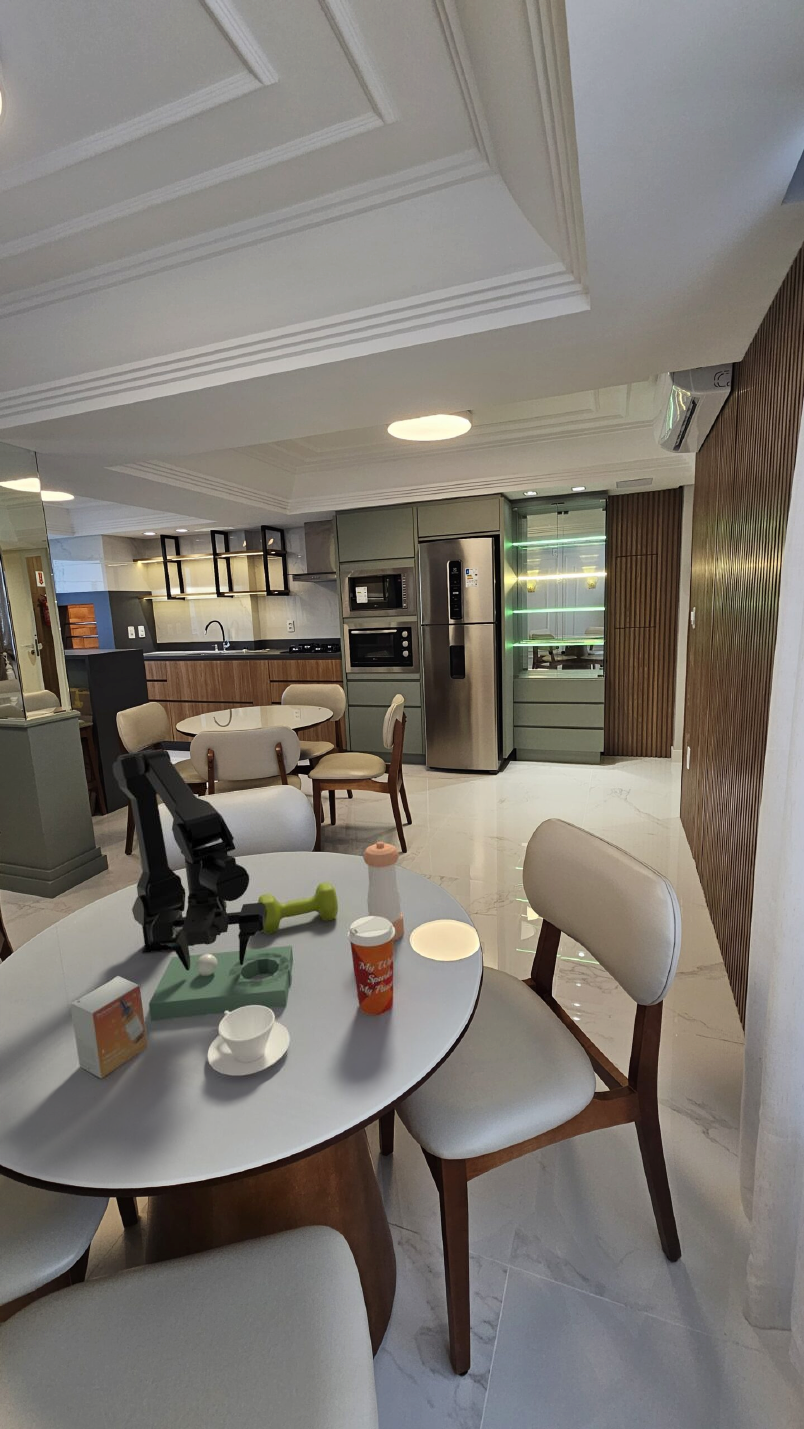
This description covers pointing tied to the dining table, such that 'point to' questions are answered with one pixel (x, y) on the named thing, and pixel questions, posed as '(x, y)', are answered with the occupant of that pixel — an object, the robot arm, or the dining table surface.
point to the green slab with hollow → (224, 984)
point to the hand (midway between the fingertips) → (215, 966)
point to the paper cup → (373, 963)
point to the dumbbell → (300, 906)
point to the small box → (109, 1026)
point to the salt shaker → (384, 885)
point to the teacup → (248, 1041)
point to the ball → (206, 965)
